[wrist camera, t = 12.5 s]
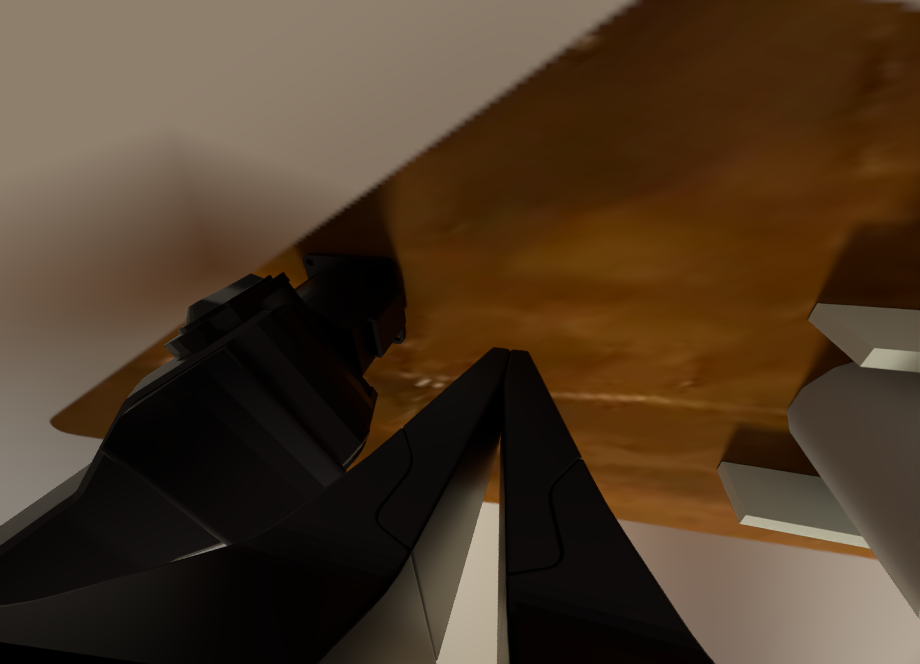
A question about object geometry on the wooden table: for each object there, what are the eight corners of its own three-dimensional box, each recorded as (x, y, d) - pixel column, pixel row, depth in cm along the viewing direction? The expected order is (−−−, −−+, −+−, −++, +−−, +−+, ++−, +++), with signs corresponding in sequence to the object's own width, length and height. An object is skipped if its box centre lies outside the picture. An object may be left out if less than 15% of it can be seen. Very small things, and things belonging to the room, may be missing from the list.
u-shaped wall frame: (716, 469, 26) (739, 523, 22) (817, 303, 18) (874, 348, 15) (902, 500, 23) (958, 565, 20) (1110, 323, 16) (1255, 381, 12)
